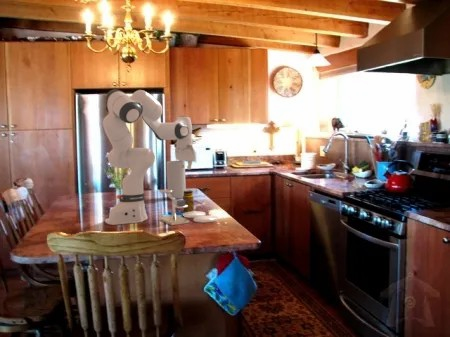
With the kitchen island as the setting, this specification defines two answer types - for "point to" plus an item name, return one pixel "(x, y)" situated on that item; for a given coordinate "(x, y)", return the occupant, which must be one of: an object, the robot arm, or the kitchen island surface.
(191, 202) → the condiment
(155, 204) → the kitchen island surface
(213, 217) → the near dish
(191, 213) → the far dish
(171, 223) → the balance
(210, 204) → the kitchen island surface
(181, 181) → the cylinder vase
